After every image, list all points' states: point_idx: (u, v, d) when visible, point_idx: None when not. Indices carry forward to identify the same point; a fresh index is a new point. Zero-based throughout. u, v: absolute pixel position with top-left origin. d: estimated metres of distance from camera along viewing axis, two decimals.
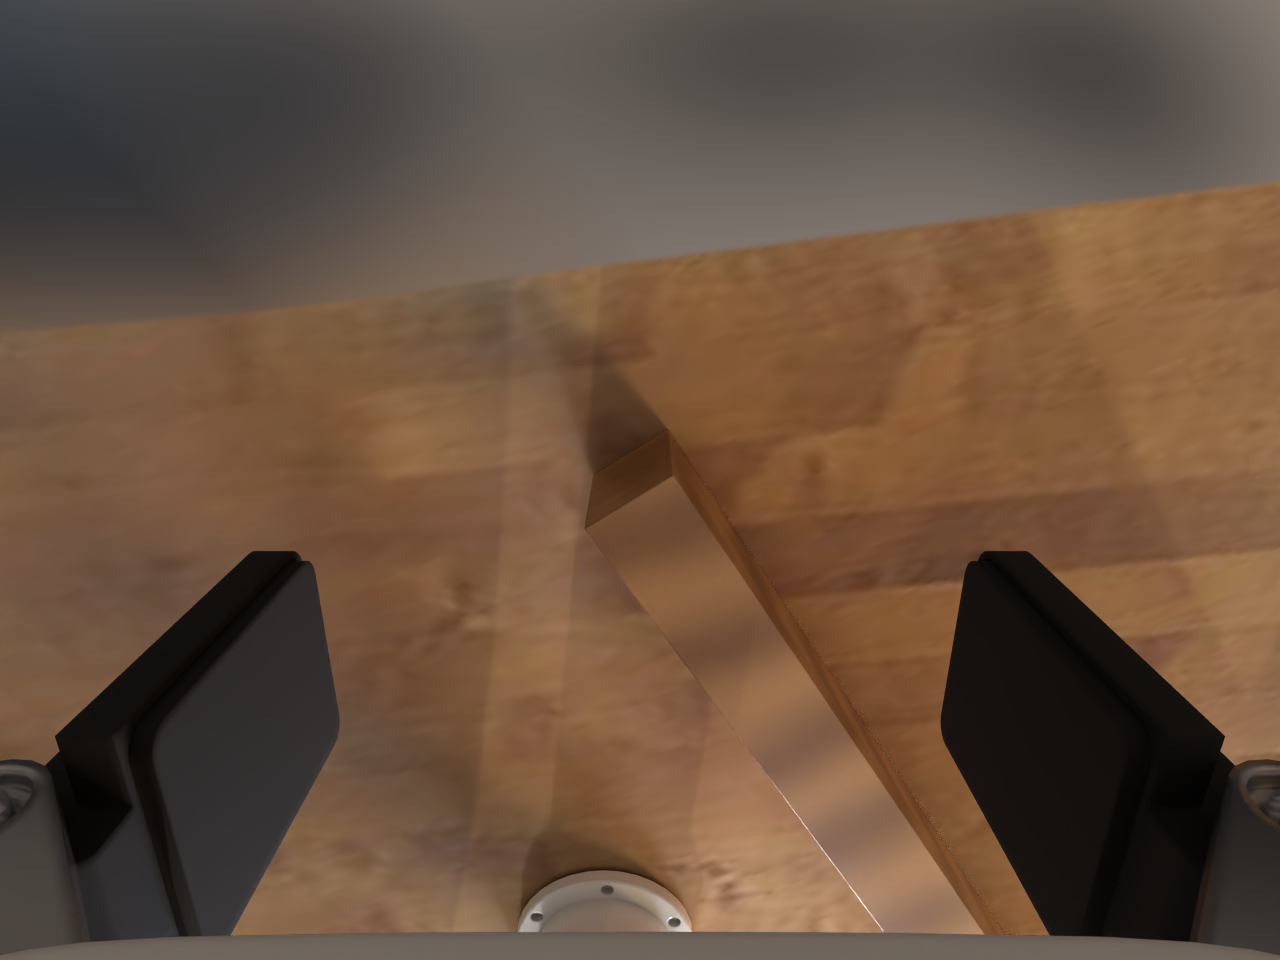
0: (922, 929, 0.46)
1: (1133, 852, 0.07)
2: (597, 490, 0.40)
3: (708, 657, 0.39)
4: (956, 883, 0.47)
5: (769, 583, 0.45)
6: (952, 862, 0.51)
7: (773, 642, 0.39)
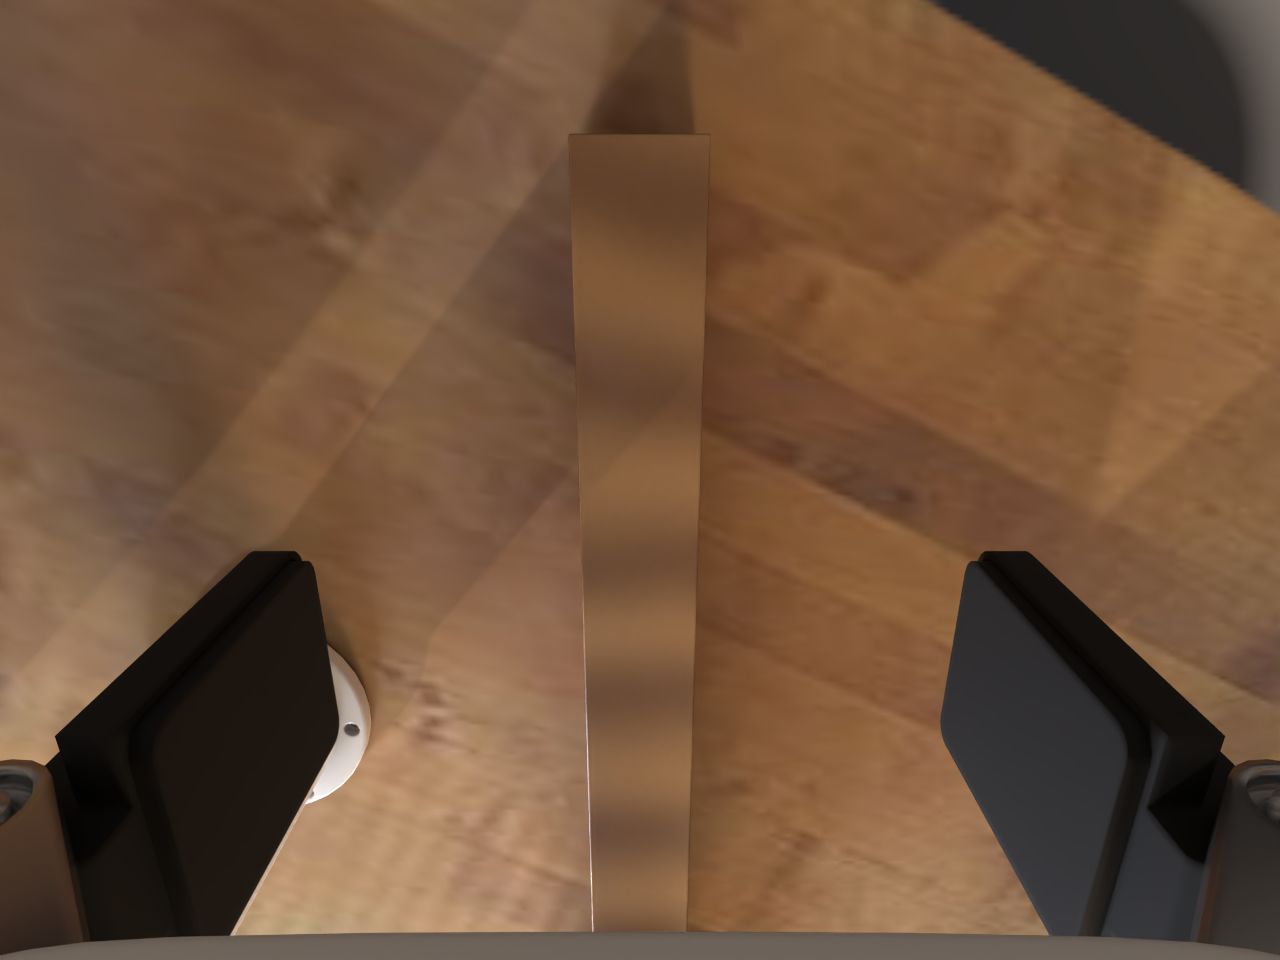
0: (630, 844, 0.38)
1: (1133, 853, 0.07)
2: None
3: (607, 392, 0.30)
4: None
5: None
6: None
7: (688, 418, 0.31)
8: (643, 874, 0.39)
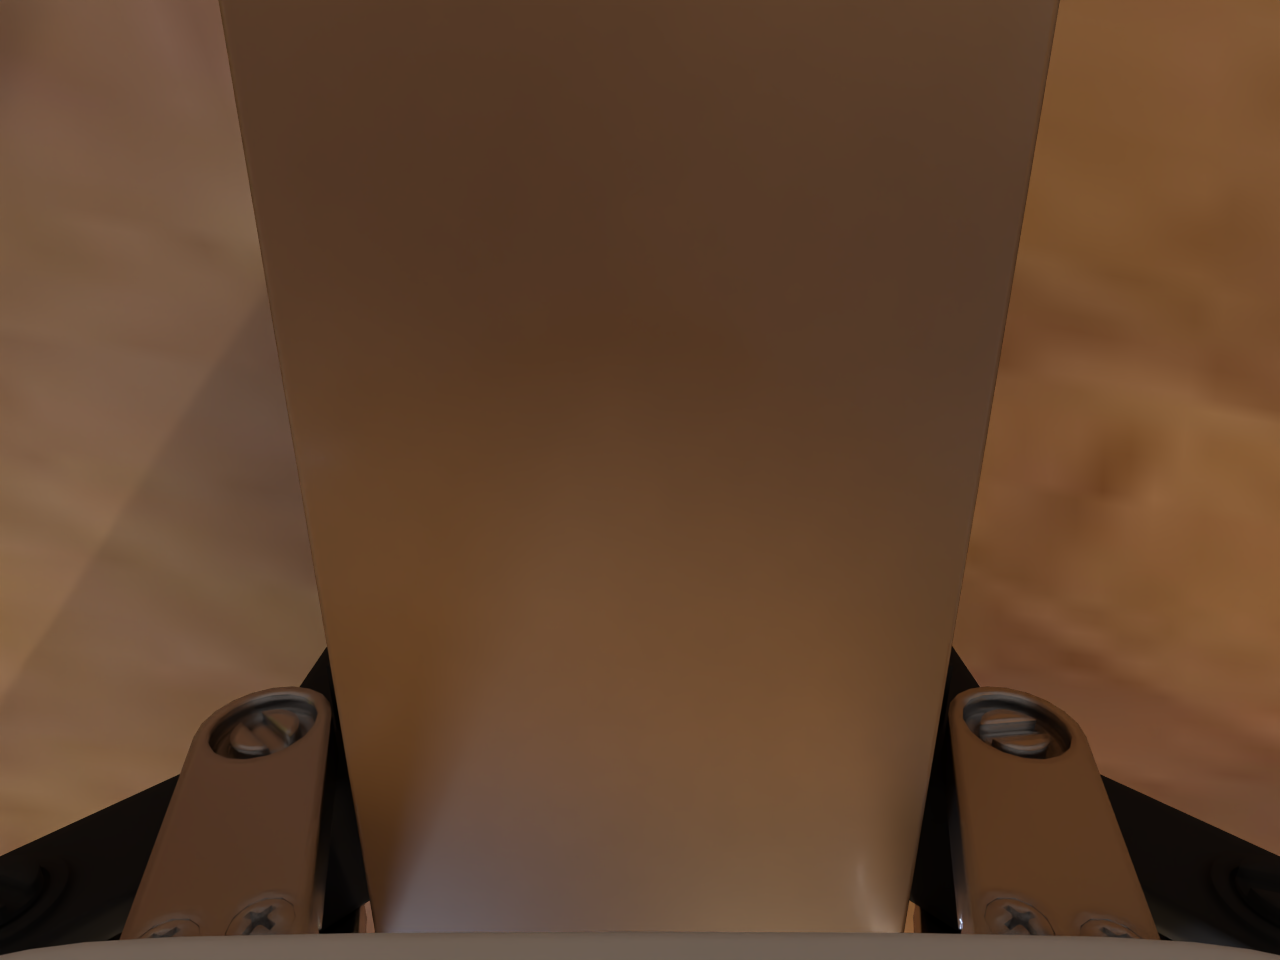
0: None
1: None
2: None
3: None
4: None
5: None
6: None
7: None
8: None
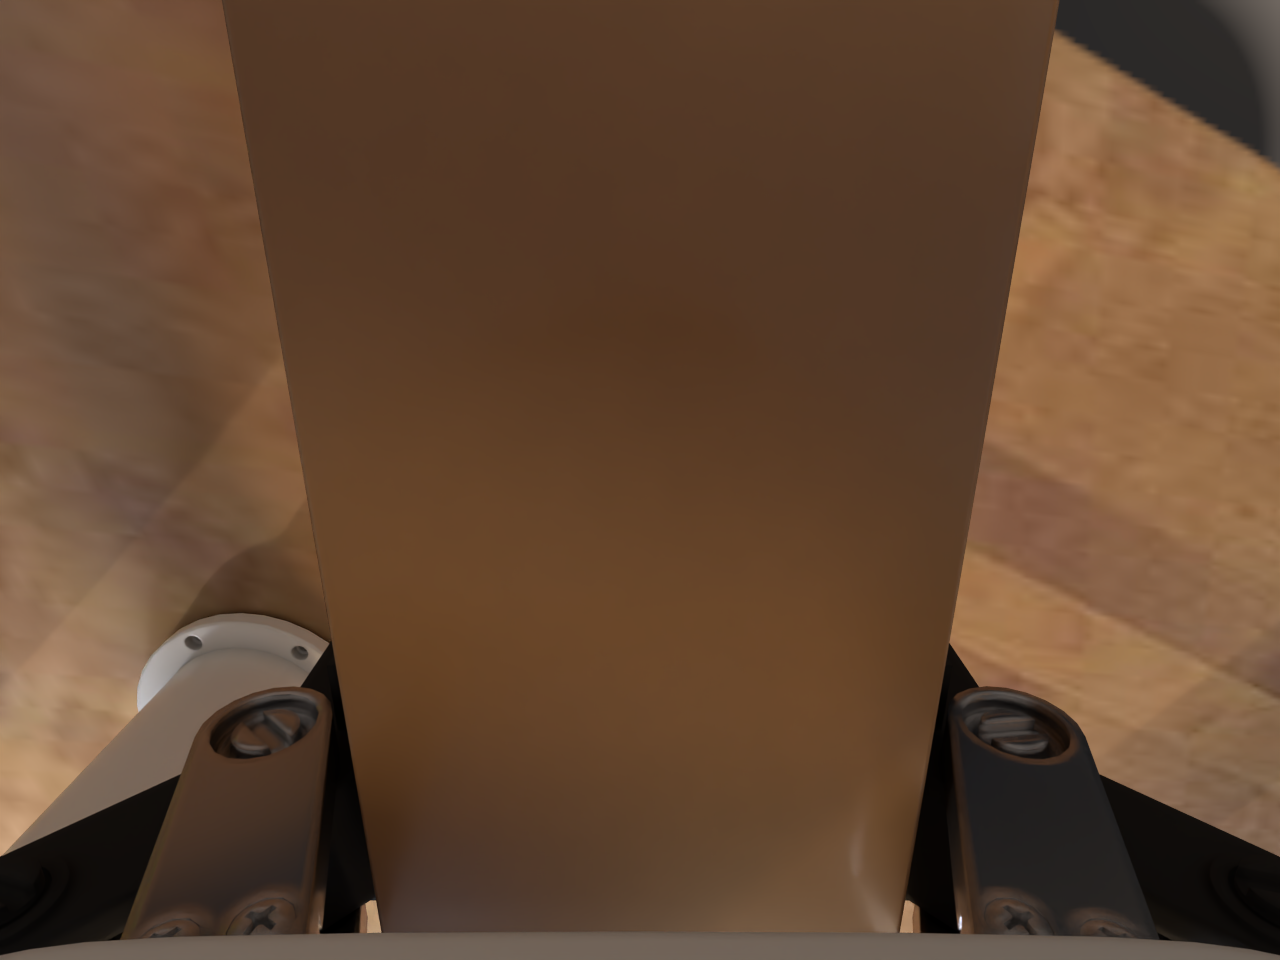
0: None
1: None
2: None
3: None
4: None
5: None
6: None
7: None
8: None
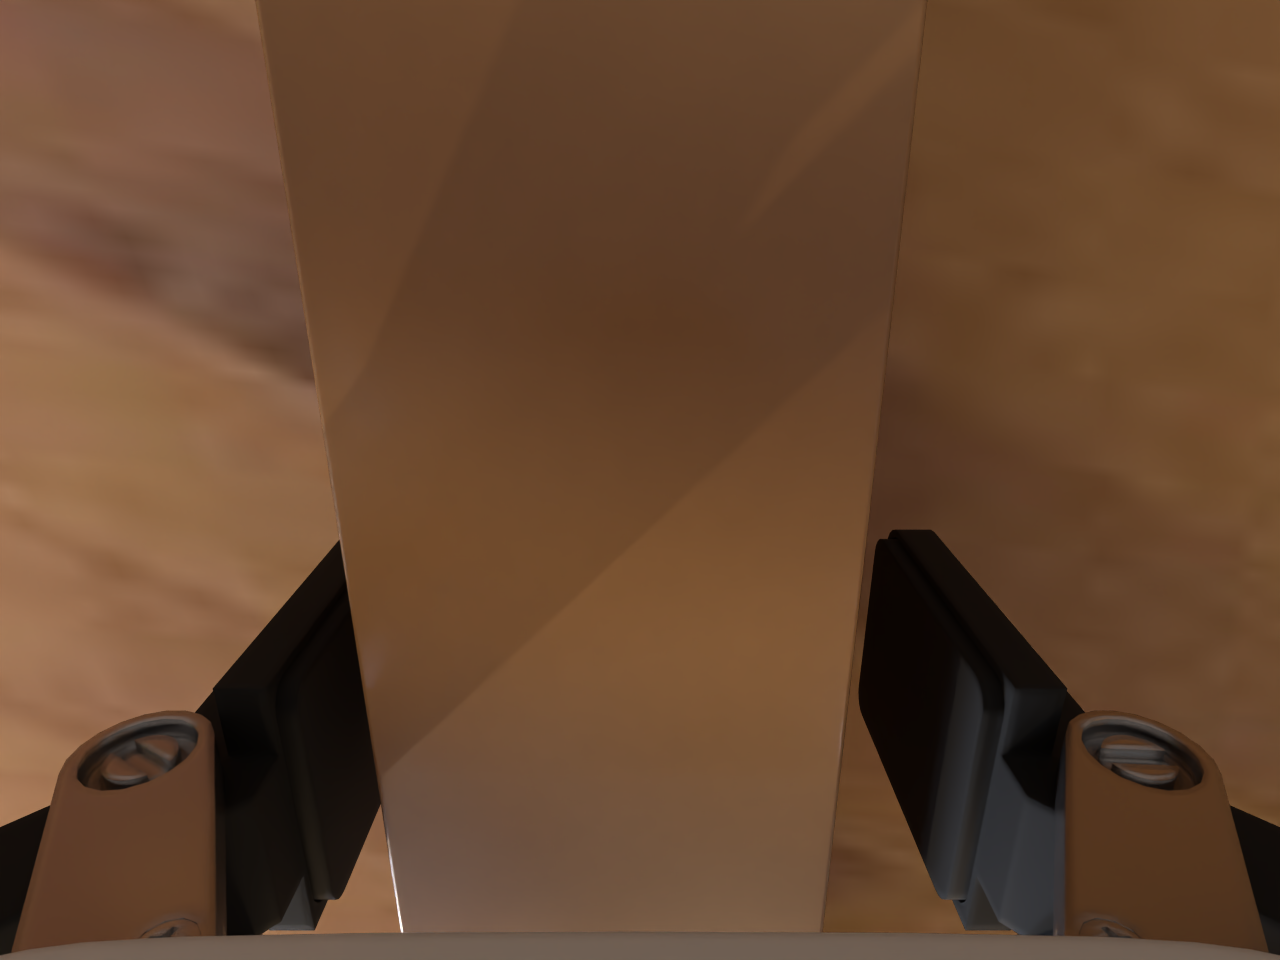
0: None
1: (993, 799, 0.08)
2: None
3: (501, 907, 0.09)
4: None
5: None
6: None
7: None
8: None
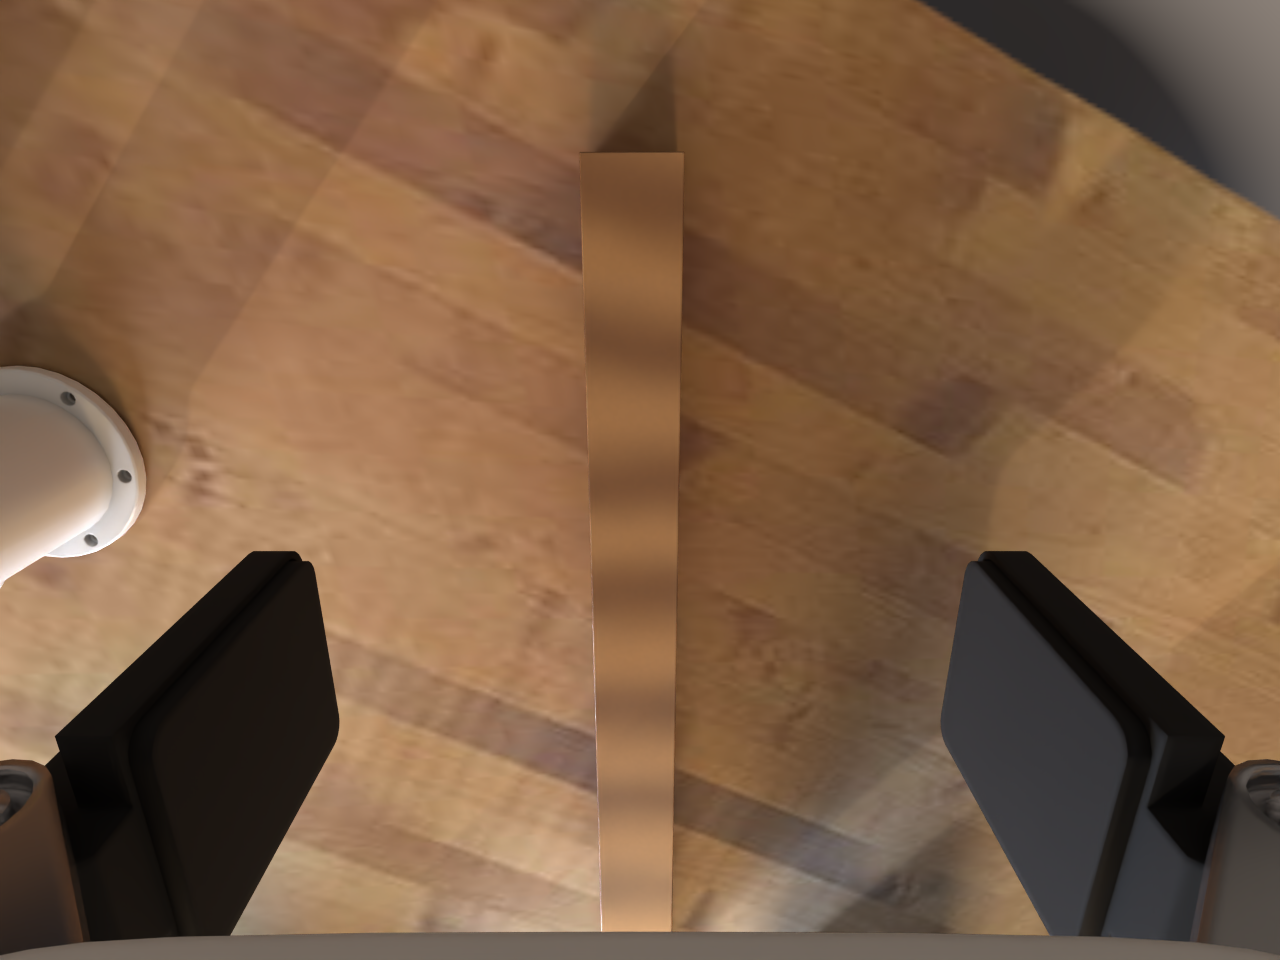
0: (628, 717, 0.48)
1: (1133, 852, 0.07)
2: None
3: (608, 347, 0.40)
4: None
5: None
6: None
7: (670, 367, 0.40)
8: (638, 743, 0.49)
